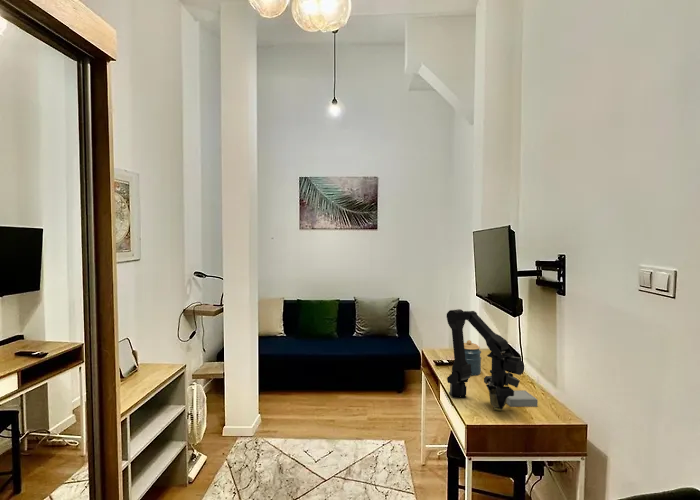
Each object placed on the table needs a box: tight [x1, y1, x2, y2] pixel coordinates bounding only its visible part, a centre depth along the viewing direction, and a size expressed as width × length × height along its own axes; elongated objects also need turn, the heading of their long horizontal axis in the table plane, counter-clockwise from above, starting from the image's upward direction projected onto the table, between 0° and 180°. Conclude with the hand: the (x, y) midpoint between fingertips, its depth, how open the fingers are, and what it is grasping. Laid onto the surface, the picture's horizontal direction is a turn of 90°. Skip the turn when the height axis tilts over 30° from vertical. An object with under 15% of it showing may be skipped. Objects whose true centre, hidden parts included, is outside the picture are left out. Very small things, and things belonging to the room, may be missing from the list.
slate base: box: [506, 389, 539, 408], centre depth 199 cm, size 12×12×3 cm
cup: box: [488, 389, 507, 412], centre depth 189 cm, size 8×7×8 cm
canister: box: [464, 339, 482, 376], centre depth 244 cm, size 13×13×18 cm
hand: (497, 405), depth 189 cm, fingers closed on cup, 6 cm apart
